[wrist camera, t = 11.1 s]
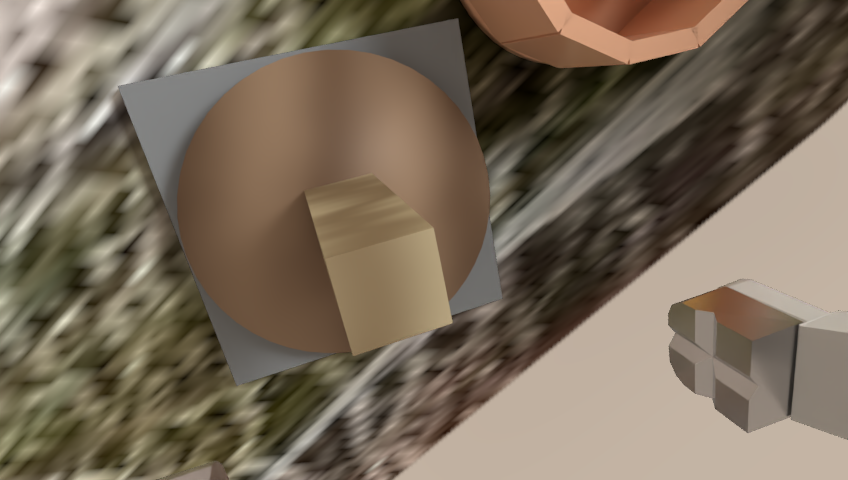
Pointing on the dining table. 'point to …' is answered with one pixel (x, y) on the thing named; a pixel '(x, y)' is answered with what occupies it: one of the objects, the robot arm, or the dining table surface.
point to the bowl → (599, 28)
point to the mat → (200, 90)
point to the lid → (334, 202)
